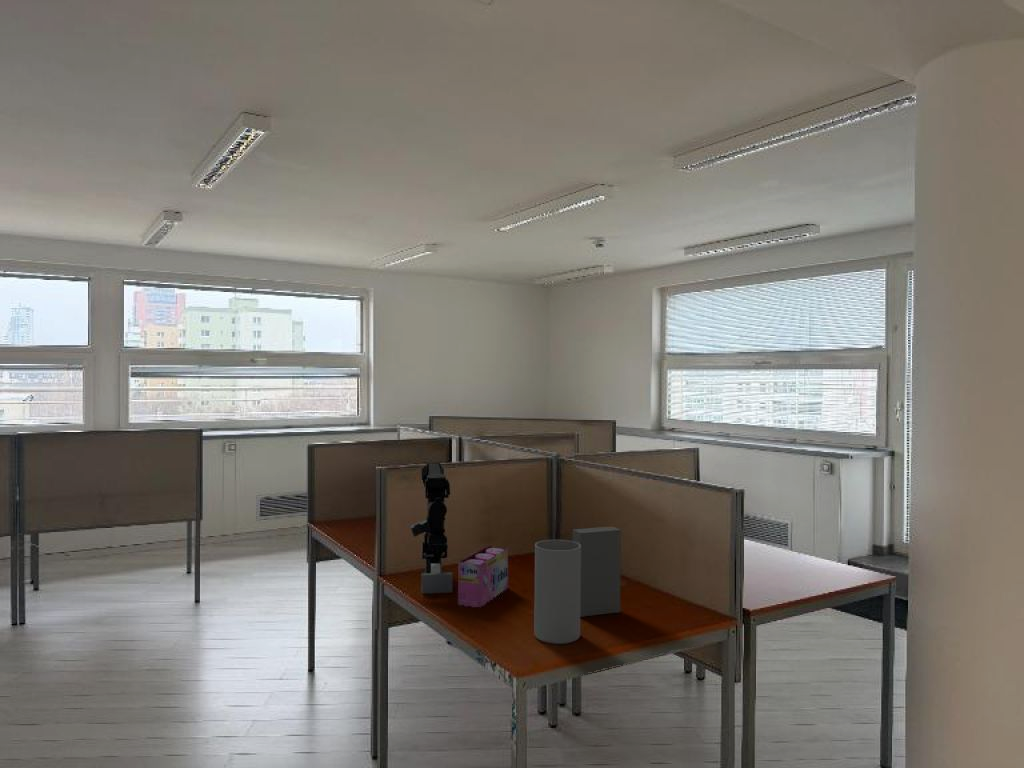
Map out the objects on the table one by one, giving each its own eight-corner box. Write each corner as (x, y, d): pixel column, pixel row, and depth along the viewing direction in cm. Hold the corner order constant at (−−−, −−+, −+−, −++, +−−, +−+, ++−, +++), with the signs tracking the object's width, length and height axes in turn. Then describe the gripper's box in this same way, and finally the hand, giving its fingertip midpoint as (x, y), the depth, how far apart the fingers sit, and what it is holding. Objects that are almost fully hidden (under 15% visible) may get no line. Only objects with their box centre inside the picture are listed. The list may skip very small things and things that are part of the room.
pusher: (420, 584, 241) (420, 564, 241) (450, 583, 243) (450, 563, 243) (421, 593, 232) (421, 572, 232) (452, 592, 233) (452, 571, 233)
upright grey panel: (610, 606, 220) (611, 525, 220) (620, 612, 214) (621, 529, 214) (570, 611, 215) (571, 528, 215) (579, 618, 209) (580, 533, 209)
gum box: (489, 584, 242) (489, 544, 242) (510, 587, 239) (510, 547, 239) (457, 605, 220) (457, 561, 220) (480, 608, 217) (480, 564, 217)
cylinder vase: (577, 628, 201) (577, 539, 201) (582, 645, 188) (583, 550, 188) (532, 628, 200) (533, 539, 200) (535, 645, 188) (536, 550, 188)
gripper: (411, 508, 248) (411, 553, 249) (412, 519, 230) (412, 567, 230) (443, 507, 250) (443, 551, 251) (447, 518, 232) (447, 566, 232)
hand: (435, 559), depth 241 cm, fingers open, 9 cm apart
